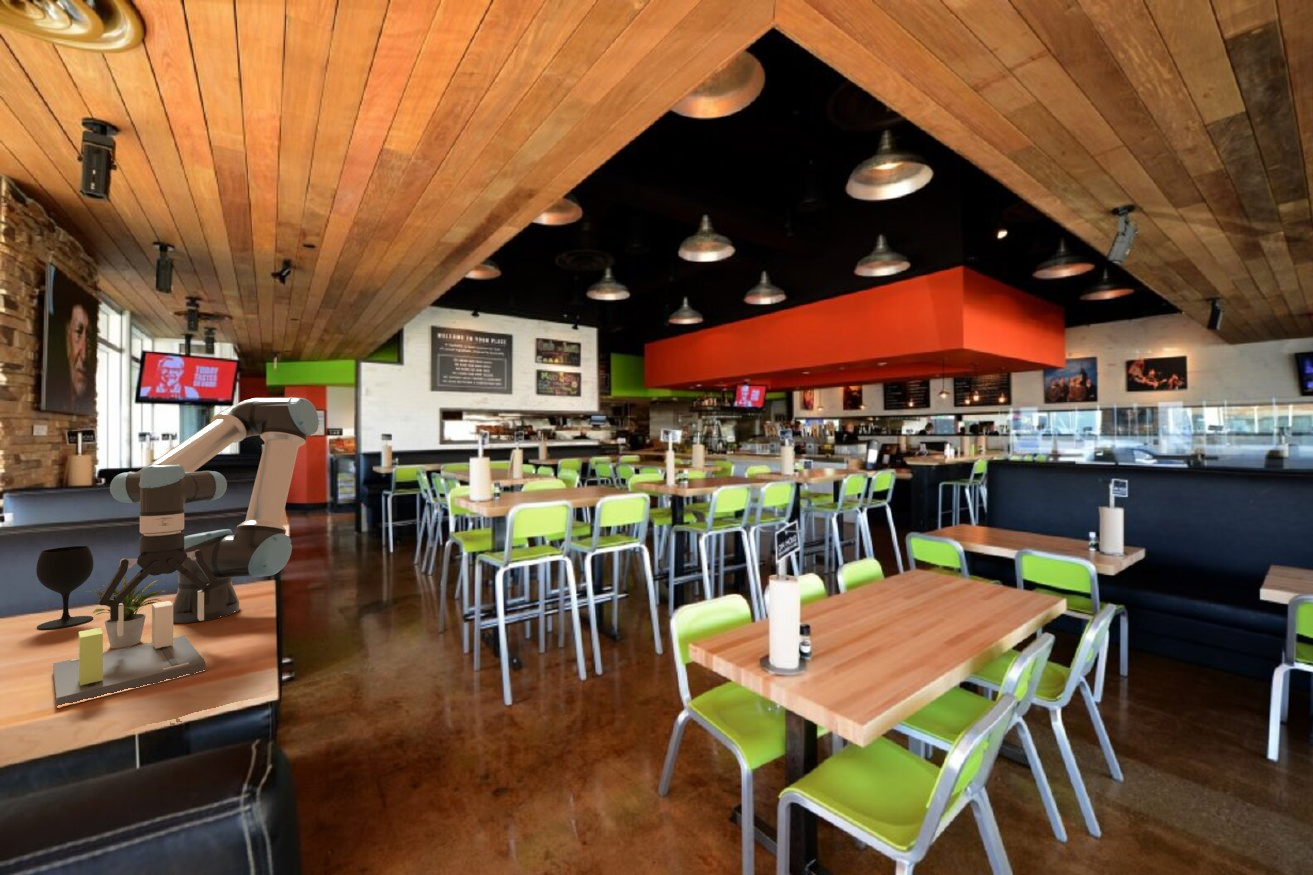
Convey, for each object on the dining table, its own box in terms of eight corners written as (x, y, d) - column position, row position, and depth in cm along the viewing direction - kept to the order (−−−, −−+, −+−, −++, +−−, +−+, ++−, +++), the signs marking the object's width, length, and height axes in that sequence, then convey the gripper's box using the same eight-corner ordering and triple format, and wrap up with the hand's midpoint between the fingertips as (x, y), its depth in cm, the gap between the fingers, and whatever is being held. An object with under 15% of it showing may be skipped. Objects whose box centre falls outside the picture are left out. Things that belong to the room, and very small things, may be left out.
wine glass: (91, 614, 153) (91, 543, 153) (95, 622, 146) (95, 548, 146) (35, 624, 145) (35, 549, 145) (37, 632, 138) (37, 554, 138)
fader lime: (100, 672, 108) (100, 627, 108) (102, 680, 104) (102, 633, 104) (78, 678, 105) (78, 631, 105) (80, 685, 102) (80, 637, 102)
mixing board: (184, 643, 130) (184, 634, 130) (205, 671, 114) (205, 660, 114) (53, 672, 114) (53, 662, 114) (56, 708, 98) (56, 696, 98)
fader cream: (169, 639, 126) (169, 600, 126) (173, 644, 123) (173, 604, 123) (152, 643, 124) (152, 603, 124) (155, 648, 120) (155, 607, 120)
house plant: (108, 660, 120) (108, 586, 120) (61, 655, 123) (61, 583, 123) (176, 637, 134) (176, 571, 134) (133, 633, 137) (133, 569, 137)
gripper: (84, 542, 111) (83, 646, 111) (234, 527, 130) (234, 616, 130) (81, 538, 116) (81, 638, 116) (227, 524, 135) (227, 610, 135)
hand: (162, 626), depth 123 cm, fingers open, 13 cm apart
